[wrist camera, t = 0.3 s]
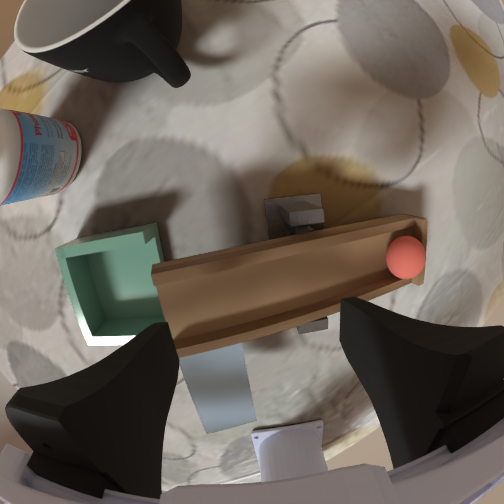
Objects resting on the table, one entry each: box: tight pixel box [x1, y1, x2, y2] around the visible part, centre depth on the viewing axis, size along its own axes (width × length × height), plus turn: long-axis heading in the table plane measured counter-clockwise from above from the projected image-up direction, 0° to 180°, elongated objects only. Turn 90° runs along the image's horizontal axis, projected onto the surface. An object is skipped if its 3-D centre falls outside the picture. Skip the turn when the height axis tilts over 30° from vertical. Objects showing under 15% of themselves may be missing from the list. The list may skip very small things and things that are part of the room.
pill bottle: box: [0, 109, 82, 206], centre depth 12 cm, size 6×6×11 cm
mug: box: [14, 0, 191, 88], centre depth 11 cm, size 12×9×10 cm
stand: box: [264, 193, 328, 334], centre depth 18 cm, size 9×4×4 cm, turn 7°
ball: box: [386, 236, 426, 279], centre depth 17 cm, size 3×3×3 cm
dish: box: [55, 223, 166, 345], centre depth 19 cm, size 8×7×3 cm
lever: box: [151, 214, 427, 434], centre depth 17 cm, size 14×18×3 cm
